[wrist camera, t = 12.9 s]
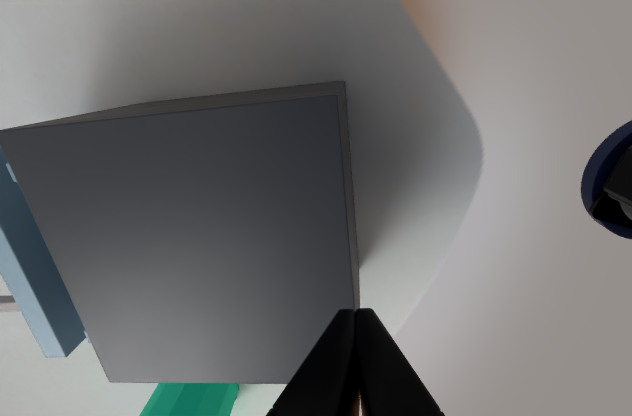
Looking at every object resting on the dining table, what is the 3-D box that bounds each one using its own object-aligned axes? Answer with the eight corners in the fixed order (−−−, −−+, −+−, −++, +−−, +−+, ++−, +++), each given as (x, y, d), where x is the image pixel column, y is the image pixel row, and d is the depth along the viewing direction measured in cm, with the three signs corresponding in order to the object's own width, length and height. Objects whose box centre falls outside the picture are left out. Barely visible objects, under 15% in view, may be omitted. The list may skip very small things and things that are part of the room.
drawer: (59, 281, 24) (-44, 358, 18) (-10, 131, 20) (-174, 163, 14) (279, 273, 22) (248, 357, 16) (248, 104, 18) (192, 126, 12)
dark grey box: (190, 276, 24) (108, 383, 16) (139, 103, 19) (-8, 131, 12) (359, 270, 22) (361, 385, 14) (345, 80, 18) (337, 94, 10)
